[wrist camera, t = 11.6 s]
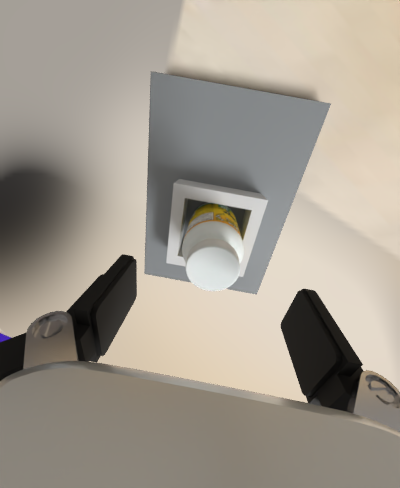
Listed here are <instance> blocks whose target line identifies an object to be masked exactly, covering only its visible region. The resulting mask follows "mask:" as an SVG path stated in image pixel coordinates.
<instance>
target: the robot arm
mask: <svg viewBox="0 0 400 488" xmlns="http://www.w3.org/2000/svg"><path fill="white" fill-rule="evenodd" d="M136 288H137V285H136V260H135V259H134V258H133V256H128V255H121V256H120V257H119V259H118V260H117V261H116V262H115V263H114V264H113V265H112V266H111V267H110V268H109V270H108V271H107V272H106V273H105V274H104V275H100V276H99V277H98V278H97V279H96V280H95V281H94V283H93V284H92V285H91V286H90V287H89V288H88V289H87V290H86V291H85V292H84V293H83V294H82V295H81V297H80V298H79V299H78V300H77V301H76V302H75V303H74V304H73V305H72V306H71V307H70V309H69V310H68V311H67V312H63V311H55V312H50V313H47V314H45V315H43V316H41V317H39V318H37V319H36V320H35V321H34V322H33V323H31V325H30V326H29V328H28V330H27V333H24V334H21V335H19V336H16V337H14V338H11V339H8V340H5V341H2V342H0V488H400V392H399V391H398V389H397V388H396V387H395V386H394V385H393V384H392V383H391V382H390V381H388V380H387V379H386V378H384V377H383V376H381V375H379V374H378V373H375V372H373V371H367V370H366V371H363V370H362V368H361V366H362V365H363V364H362V363H361V361H360V360H359V358H358V356H357V355H356V353H355V352H354V350H353V349H352V347H351V346H350V344H349V343H348V341H347V339H346V338H345V336H344V335H343V333H342V332H341V330H340V328H339V327H338V325H337V324H336V322H335V321H334V319H333V318H332V316H331V315H330V313H329V312H328V310H327V308H326V307H325V305H324V304H323V302H322V301H321V299H320V298H319V296H318V294H317V293H316V292H315V291H313V290H308V289H302V290H301V291H298V293H297V294H296V296H295V298H294V300H293V302H292V304H291V306H290V307H289V310H288V311H287V313H286V315H285V317H284V318H283V320H282V322H281V329H282V332H283V335H284V339H285V342H286V344H287V348H288V351H289V354H290V357H291V360H292V363H293V366H294V369H295V372H296V375H297V378H298V381H299V384H300V387H301V390H302V393H303V394H304V395H305V396H306V398H307V401H308V403H305V402H300V401H294V400H290V399H284V398H280V397H275V396H270V395H265V394H260V393H255V392H250V391H245V390H240V389H235V388H230V387H225V386H220V385H214V384H210V383H204V382H199V381H194V380H189V379H183V378H179V377H173V376H168V375H163V374H158V373H152V372H147V371H142V370H137V369H131V368H125V367H119V366H113V365H108V364H102V363H93V362H97V361H98V359H99V358H100V356H103V355H105V353H106V352H107V350H108V348H109V346H110V344H111V343H112V341H113V339H114V337H115V335H116V334H117V332H118V330H119V328H120V326H121V325H122V323H123V321H124V319H125V317H126V316H127V314H128V312H129V310H130V308H131V307H132V305H133V303H134V301H135V299H136V295H137V289H136ZM89 361H92V362H89Z"/></svg>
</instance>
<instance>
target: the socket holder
mask: <svg viewBox="0 0 400 488" xmlns="http://www.w3.org/2000/svg"><path fill="white" fill-rule="evenodd" d="M330 105H331V104H330V103H324V102H319V101H313V100H308V99H302V98H296V97H291V96H285V95H280V94H274V93H269V92H263V91H257V90H252V89H246V88H241V87H235V86H230V85H224V84H218V83H213V82H207V81H202V80H196V79H191V78H185V77H179V76H174V75H168V74H163V73H157V72H151V85H150V118H149V149H148V180H147V211H146V215H147V216H146V243H145V274H148V275H154V276H159V277H165V278H170V279H176V280H182V281H187V282H191V281H190V280H189V278H188V276H187V274H186V262H185V260H184V258H183V254H182V244H183V240H184V237H185V234H186V231H187V228H188V225H189V222H190V219H191V216H192V214H193V213H194V211H195V210H196V209H197V208H198V207H199V206H201V205H203V204H205V203H208V202H209V203H215V204H220V205H225V206H227V207H228V208H229V209H230V210H231V211H232V212H233V214H234V215H235V218H236V221H237V224H238V228H239V231H240V234H241V237H242V240H243V245H244V255H243V258H242V261H241V263H240V273H239V276H238V278H237V280H236V281H235V282H234V283H233V284H232V285H231V286H230V287H228V288H226V289H230V290H235V291H241V292H246V293H252V294H257V292H258V290H259V287H260V284H261V282H262V279H263V277H264V274H265V272H266V269H267V266H268V264H269V261H270V259H271V256H272V254H273V251H274V248H275V246H276V243H277V241H278V238H279V235H280V233H281V231H282V228H283V225H284V223H285V220H286V218H287V215H288V213H289V210H290V207H291V205H292V202H293V200H294V197H295V194H296V192H297V189H298V187H299V184H300V182H301V179H302V177H303V174H304V171H305V169H306V166H307V164H308V161H309V159H310V156H311V154H312V151H313V148H314V146H315V143H316V141H317V138H318V136H319V133H320V130H321V128H322V125H323V123H324V120H325V118H326V115H327V112H328V110H329V107H330Z"/></svg>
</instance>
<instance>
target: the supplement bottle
mask: <svg viewBox="0 0 400 488" xmlns="http://www.w3.org/2000/svg"><path fill="white" fill-rule="evenodd" d="M182 254H183V258H184V260H185V262H186V274H187V276H188V278H189V280H190V281H191V282H192V283H193V284H194V285H195V286H197V287H199V288H201V289H204V290H207V291H219V290H223V289H226V288H228V287H230V286H231V285H232V284H233V283H234V282H235V281H236V280H237V278H238V276H239V273H240V263H241V261H242V258H243V255H244V245H243V240H242V237H241V234H240V231H239V228H238V224H237V221H236V218H235V215H234V214H233V212H232V211H231V210H230V209H229V208H228V207H227V206H225V205H220V204H215V203H209V202H208V203H205V204H203V205H201V206H199V207H198V208H197V209H196V210H195V211H194V213H193V214H192V216H191V219H190V222H189V225H188V228H187V231H186V234H185V237H184V240H183V244H182Z"/></svg>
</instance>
